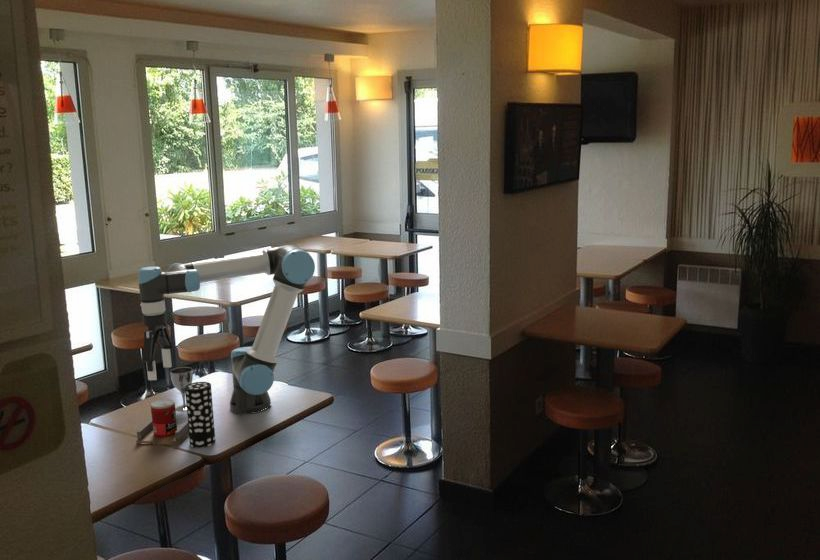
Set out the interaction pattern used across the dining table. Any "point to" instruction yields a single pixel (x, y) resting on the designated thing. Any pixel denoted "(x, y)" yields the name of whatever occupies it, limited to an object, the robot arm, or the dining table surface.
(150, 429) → the holder
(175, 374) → the wine glass
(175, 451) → the dining table surface
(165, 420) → the canned food
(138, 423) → the dining table surface
